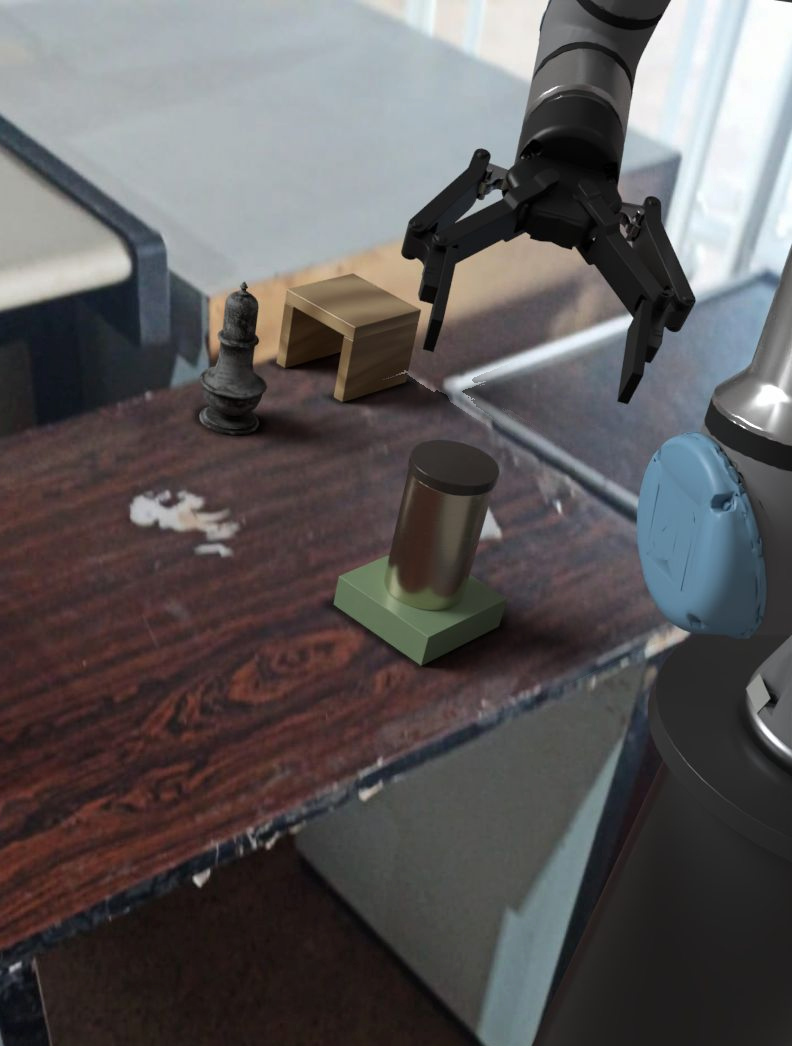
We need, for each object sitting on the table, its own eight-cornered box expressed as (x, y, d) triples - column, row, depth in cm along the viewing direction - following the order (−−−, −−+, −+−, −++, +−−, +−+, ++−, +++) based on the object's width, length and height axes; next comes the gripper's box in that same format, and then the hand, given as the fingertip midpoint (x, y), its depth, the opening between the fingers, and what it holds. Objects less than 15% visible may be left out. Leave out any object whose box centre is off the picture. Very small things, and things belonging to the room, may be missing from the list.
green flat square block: (499, 626, 97) (507, 598, 95) (421, 666, 92) (428, 637, 90) (412, 569, 101) (419, 541, 99) (333, 604, 96) (338, 575, 94)
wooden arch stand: (406, 382, 124) (421, 309, 119) (342, 402, 119) (355, 327, 114) (340, 344, 128) (353, 272, 123) (276, 363, 123) (286, 288, 118)
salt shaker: (193, 430, 111) (206, 290, 103) (198, 400, 115) (211, 262, 107) (260, 440, 112) (278, 301, 103) (263, 410, 116) (281, 273, 107)
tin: (481, 595, 95) (517, 471, 88) (427, 621, 91) (460, 494, 84) (420, 555, 98) (450, 431, 90) (365, 579, 94) (392, 453, 87)
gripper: (713, 228, 97) (687, 448, 89) (394, 140, 95) (340, 355, 88) (760, 140, 90) (737, 370, 82) (416, 43, 88) (359, 267, 81)
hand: (531, 362), depth 85 cm, fingers open, 13 cm apart
